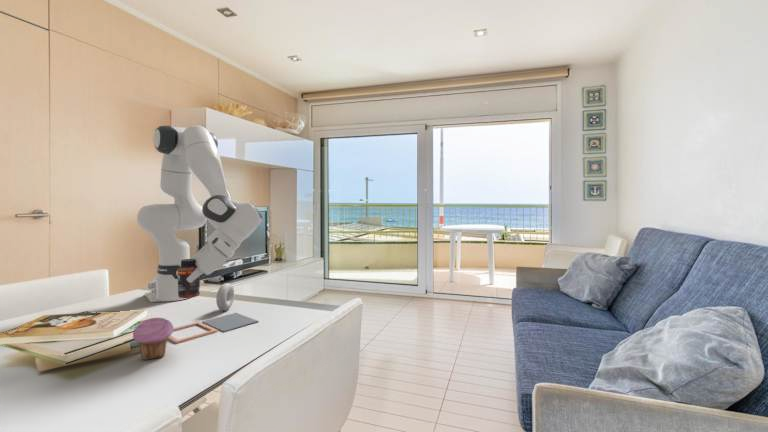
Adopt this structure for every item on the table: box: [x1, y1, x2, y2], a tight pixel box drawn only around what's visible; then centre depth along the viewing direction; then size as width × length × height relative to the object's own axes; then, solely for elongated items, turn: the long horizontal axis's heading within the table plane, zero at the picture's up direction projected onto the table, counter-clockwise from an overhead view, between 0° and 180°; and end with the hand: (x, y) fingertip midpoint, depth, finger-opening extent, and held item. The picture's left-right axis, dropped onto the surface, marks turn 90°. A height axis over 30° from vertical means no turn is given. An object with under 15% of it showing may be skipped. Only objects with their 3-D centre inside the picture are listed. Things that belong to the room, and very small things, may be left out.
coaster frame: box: [168, 321, 219, 344], centre depth 110 cm, size 12×12×1 cm
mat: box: [201, 312, 259, 333], centre depth 120 cm, size 14×12×1 cm
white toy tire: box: [216, 282, 235, 312], centre depth 133 cm, size 10×4×10 cm, turn 179°
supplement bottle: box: [178, 258, 201, 299], centre depth 110 cm, size 6×6×11 cm
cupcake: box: [132, 317, 174, 361], centre depth 93 cm, size 9×9×10 cm
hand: (186, 278), depth 109 cm, fingers closed on supplement bottle, 6 cm apart
